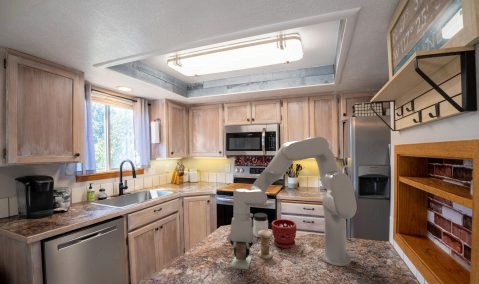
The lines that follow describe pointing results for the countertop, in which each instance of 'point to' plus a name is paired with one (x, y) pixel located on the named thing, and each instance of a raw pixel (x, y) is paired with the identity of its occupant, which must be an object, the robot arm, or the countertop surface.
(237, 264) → the board
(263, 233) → the cream drawer knob
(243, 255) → the block
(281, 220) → the plant pot
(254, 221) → the jar
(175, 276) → the countertop surface
